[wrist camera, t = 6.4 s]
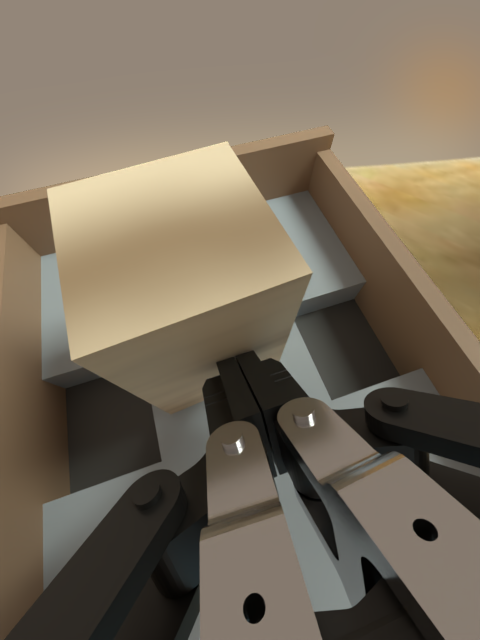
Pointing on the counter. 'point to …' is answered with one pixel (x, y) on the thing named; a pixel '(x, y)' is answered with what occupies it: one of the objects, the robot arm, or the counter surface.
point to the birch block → (173, 273)
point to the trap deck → (191, 423)
